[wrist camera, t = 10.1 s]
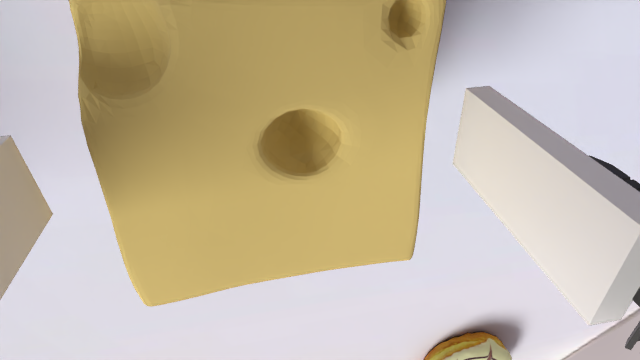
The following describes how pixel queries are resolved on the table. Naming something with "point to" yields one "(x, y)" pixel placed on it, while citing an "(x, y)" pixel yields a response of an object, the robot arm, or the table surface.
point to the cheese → (256, 134)
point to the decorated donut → (470, 348)
